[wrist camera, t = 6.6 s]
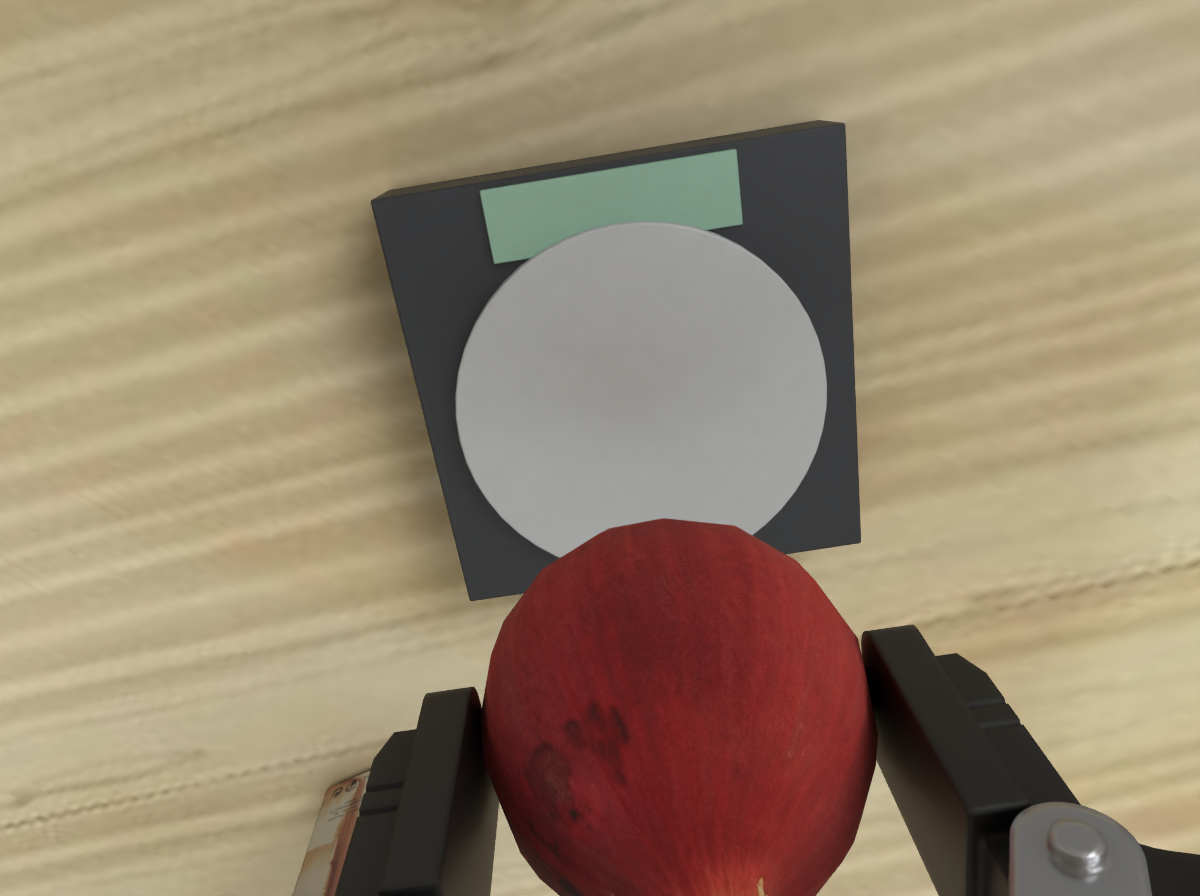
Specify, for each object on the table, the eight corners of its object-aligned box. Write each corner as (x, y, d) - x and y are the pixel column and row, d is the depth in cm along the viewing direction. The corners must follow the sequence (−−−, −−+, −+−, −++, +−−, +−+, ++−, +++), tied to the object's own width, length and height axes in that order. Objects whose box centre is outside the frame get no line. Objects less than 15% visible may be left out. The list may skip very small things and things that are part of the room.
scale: (387, 190, 26) (365, 203, 23) (820, 119, 25) (852, 123, 22) (477, 563, 31) (467, 612, 28) (839, 508, 30) (867, 552, 27)
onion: (551, 732, 18) (539, 1188, 10) (458, 491, 16) (358, 855, 8) (826, 663, 17) (1017, 1089, 10) (770, 406, 15) (963, 709, 8)
